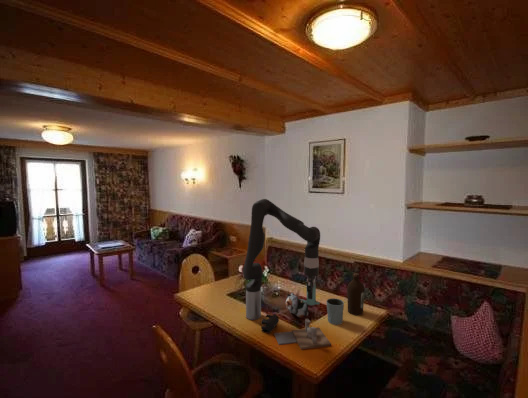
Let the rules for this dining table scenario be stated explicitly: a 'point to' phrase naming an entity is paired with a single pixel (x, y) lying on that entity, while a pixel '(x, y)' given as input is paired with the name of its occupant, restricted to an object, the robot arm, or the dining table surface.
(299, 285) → the dining table surface
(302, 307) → the lucky cat figurine
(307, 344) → the square mounting plate
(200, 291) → the dining table surface
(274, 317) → the black lumpy shape
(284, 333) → the mat
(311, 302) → the teal teardrop shape
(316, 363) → the dining table surface
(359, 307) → the olive oil
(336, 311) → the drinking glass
